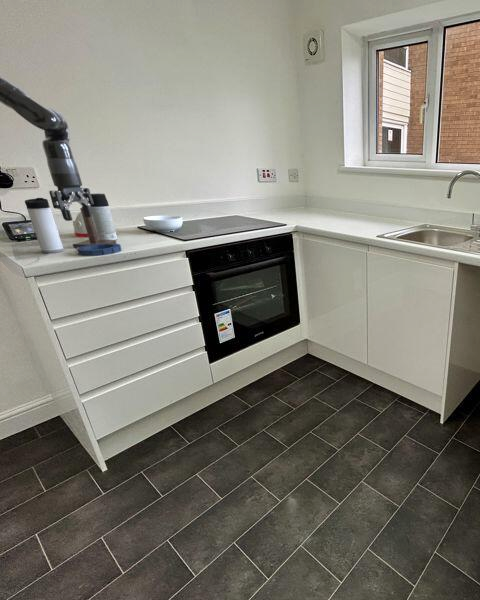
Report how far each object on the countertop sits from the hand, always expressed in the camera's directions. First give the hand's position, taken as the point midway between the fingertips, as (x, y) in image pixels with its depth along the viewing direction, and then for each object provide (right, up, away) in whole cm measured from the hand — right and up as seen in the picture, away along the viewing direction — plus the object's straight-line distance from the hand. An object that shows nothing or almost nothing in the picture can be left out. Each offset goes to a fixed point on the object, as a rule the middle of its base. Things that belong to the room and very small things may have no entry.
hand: (78, 218), depth 129 cm
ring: (0, -11, +10) cm, 15 cm away
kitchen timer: (-29, +1, +39) cm, 49 cm away
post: (-11, -7, +19) cm, 23 cm away
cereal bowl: (-3, +5, +52) cm, 52 cm away
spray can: (-14, -3, +29) cm, 33 cm away
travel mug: (-17, -11, +8) cm, 22 cm away
